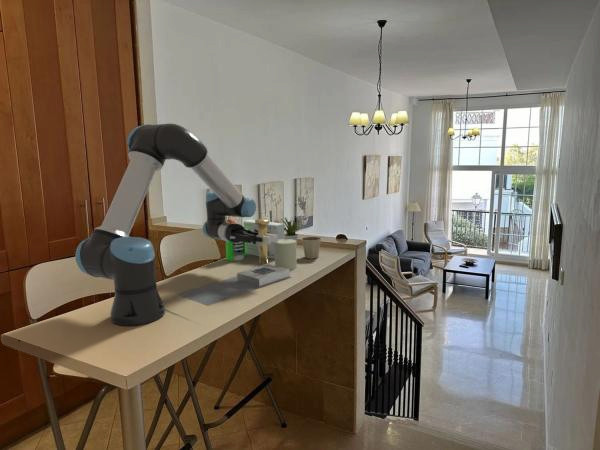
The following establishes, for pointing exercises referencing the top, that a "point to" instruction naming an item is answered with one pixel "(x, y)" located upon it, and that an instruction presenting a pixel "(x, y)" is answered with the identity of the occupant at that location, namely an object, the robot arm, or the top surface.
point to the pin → (262, 247)
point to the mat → (220, 291)
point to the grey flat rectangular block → (263, 275)
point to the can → (285, 253)
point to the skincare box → (272, 229)
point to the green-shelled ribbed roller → (235, 248)
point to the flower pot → (311, 246)
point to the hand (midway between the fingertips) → (273, 239)
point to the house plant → (291, 229)
